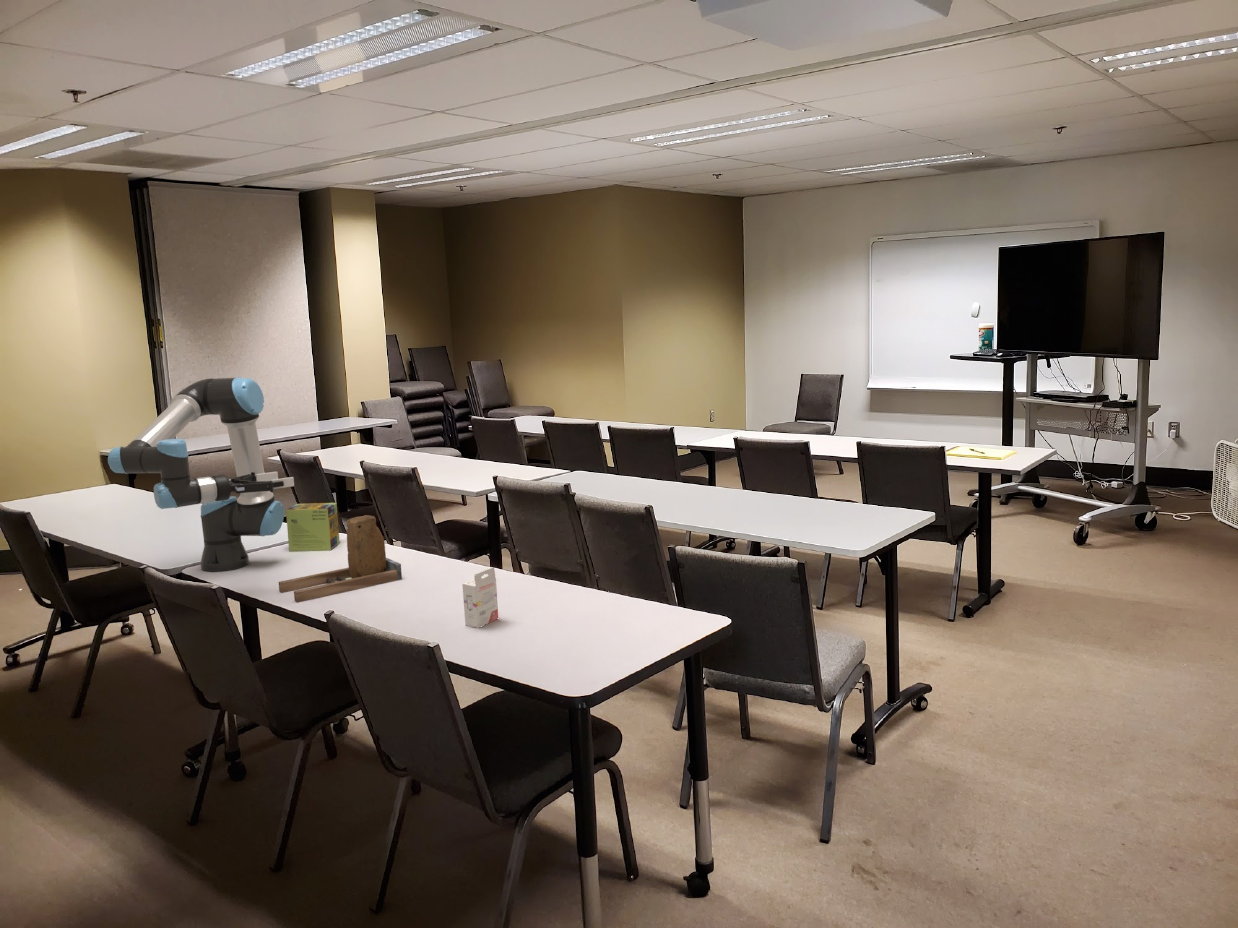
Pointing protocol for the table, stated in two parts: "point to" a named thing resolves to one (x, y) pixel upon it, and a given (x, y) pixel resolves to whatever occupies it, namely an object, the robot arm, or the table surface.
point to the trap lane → (338, 587)
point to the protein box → (312, 527)
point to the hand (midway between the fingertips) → (285, 478)
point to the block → (365, 547)
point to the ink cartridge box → (480, 599)
